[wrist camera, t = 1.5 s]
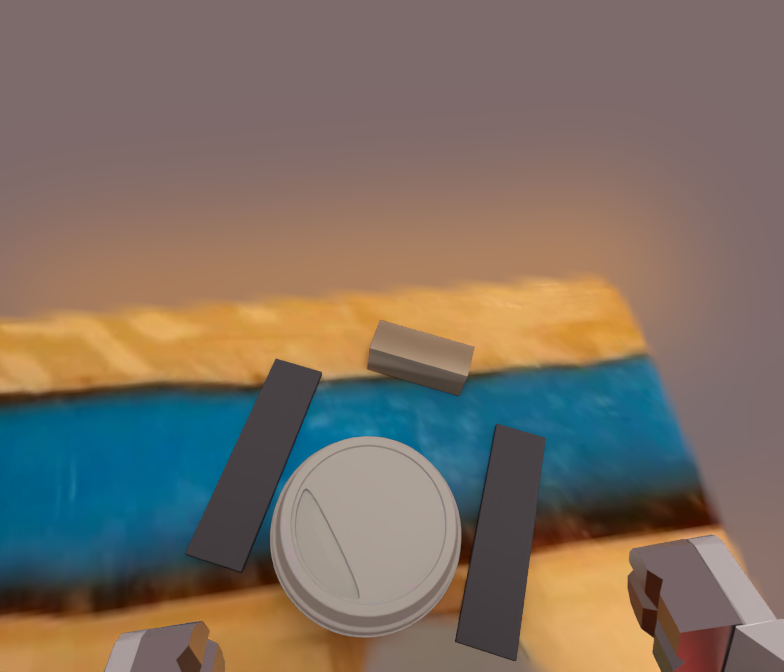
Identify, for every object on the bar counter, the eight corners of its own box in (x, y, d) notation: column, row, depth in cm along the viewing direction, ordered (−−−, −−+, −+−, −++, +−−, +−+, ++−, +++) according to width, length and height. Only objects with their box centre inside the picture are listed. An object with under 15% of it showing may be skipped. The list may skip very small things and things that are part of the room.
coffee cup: (296, 494, 36) (283, 416, 25) (428, 505, 36) (467, 432, 26) (274, 647, 31) (247, 625, 21) (426, 656, 31) (472, 640, 21)
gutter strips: (514, 661, 32) (516, 660, 31) (186, 554, 33) (185, 553, 33) (543, 440, 39) (545, 438, 39) (276, 361, 41) (275, 358, 40)
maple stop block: (458, 395, 40) (467, 376, 38) (367, 369, 41) (369, 347, 38) (465, 367, 42) (474, 346, 39) (376, 341, 42) (379, 319, 40)
